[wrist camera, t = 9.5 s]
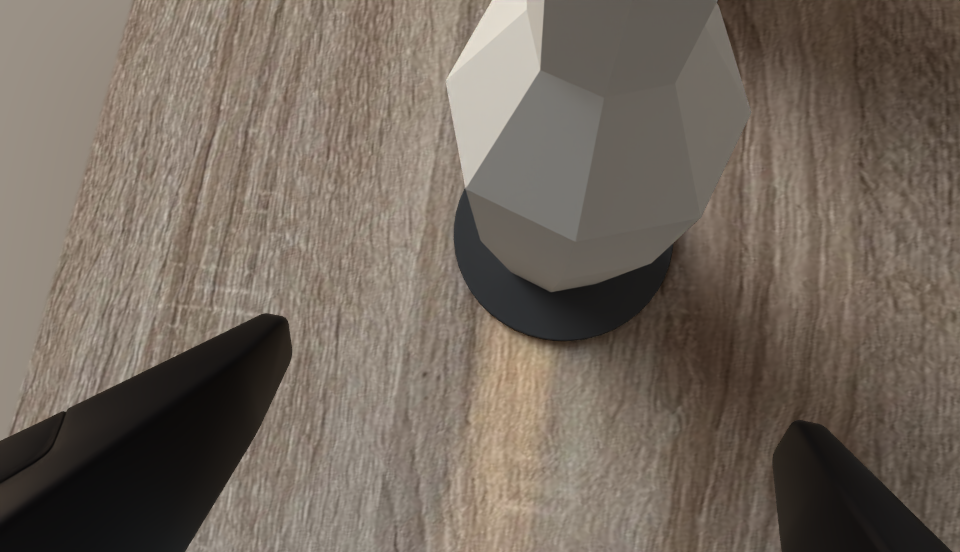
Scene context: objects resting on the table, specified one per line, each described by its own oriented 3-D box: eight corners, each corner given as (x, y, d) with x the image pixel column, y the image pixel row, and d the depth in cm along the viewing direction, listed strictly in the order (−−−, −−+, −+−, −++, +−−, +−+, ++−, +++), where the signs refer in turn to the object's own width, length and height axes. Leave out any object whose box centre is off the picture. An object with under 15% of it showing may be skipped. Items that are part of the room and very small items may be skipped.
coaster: (636, 371, 22) (638, 371, 21) (425, 300, 23) (423, 299, 22) (696, 166, 23) (698, 163, 23) (494, 110, 24) (493, 105, 24)
